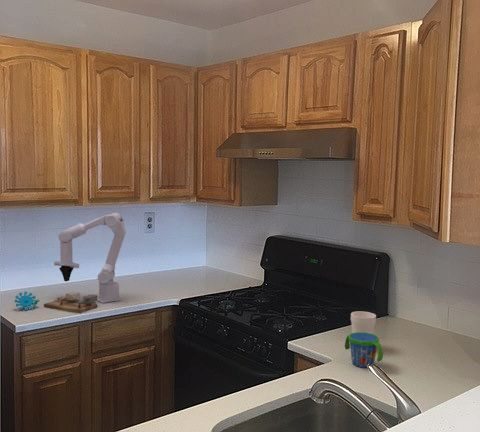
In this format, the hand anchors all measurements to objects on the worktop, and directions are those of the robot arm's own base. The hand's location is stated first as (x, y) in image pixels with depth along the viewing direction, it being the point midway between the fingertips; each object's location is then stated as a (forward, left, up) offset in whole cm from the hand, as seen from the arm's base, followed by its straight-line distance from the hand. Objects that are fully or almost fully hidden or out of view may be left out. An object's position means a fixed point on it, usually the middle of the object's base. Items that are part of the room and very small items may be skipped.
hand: (66, 280), depth 269 cm
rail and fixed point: (+2, +15, -8) cm, 17 cm away
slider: (+3, +13, -7) cm, 15 cm away
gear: (+21, +7, -10) cm, 24 cm away
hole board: (+3, +15, -9) cm, 18 cm away
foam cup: (-74, +128, -10) cm, 148 cm away
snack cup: (-61, +140, -10) cm, 153 cm away
